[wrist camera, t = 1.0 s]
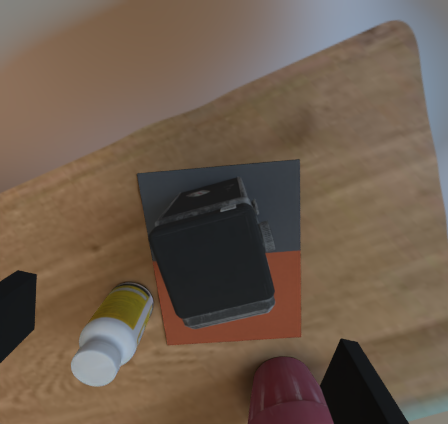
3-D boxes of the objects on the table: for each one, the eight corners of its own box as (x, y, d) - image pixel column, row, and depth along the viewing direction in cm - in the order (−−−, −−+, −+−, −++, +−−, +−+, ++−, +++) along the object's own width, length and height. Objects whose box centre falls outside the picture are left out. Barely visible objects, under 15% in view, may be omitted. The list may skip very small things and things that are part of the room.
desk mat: (299, 159, 32) (299, 159, 32) (300, 335, 39) (301, 337, 39) (137, 173, 33) (136, 173, 33) (168, 343, 40) (167, 345, 40)
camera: (196, 266, 36) (175, 353, 22) (171, 193, 33) (128, 238, 19) (270, 247, 35) (300, 325, 21) (251, 170, 32) (270, 200, 18)
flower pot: (247, 334, 39) (256, 425, 27) (338, 349, 40) (387, 444, 28) (229, 405, 43) (230, 512, 31) (312, 417, 44) (345, 527, 32)
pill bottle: (109, 278, 37) (58, 340, 26) (155, 282, 37) (124, 345, 26) (110, 317, 39) (63, 390, 28) (154, 321, 39) (125, 395, 28)
